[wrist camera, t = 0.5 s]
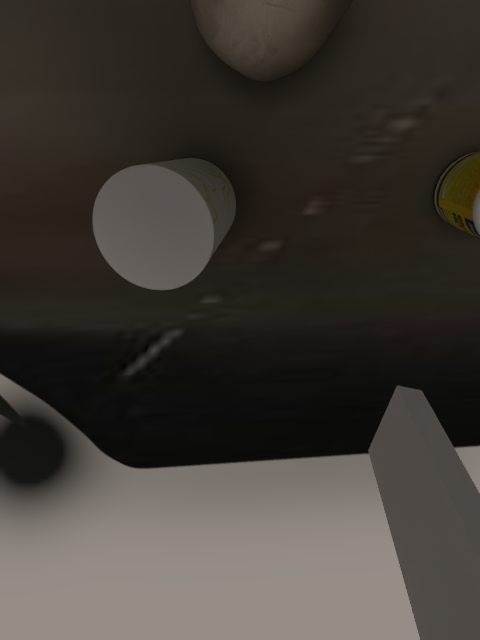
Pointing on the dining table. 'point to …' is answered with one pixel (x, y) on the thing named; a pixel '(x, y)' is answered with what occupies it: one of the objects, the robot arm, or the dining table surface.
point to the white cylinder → (163, 220)
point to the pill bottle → (461, 194)
